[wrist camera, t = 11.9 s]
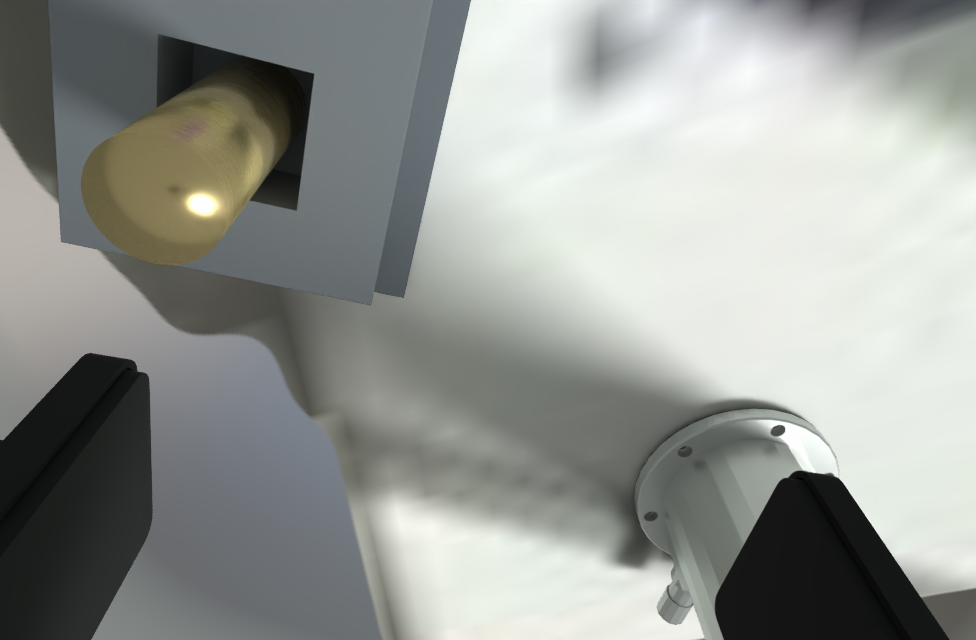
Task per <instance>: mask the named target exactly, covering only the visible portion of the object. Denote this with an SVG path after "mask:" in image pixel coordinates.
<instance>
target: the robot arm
mask: <svg viewBox="0 0 976 640" xmlns="http://www.w3.org/2000/svg"><path fill="white" fill-rule="evenodd" d="M634 500H635V507H636V512H637V515H638V518H639V521H640V524H641V527H642V529H643V531H644V532H645V534H646V535H647V537H648V538H649V539H650V540H651V541H652V542H653V543H654V544H655V545H656V546H657V547H658V548H659V549H661V550H663V551H664V552H666V553H668V554H669V555H671V557H672V560H673V563H674V567H673V569H672V571H671V578H672V580H673V581H672V582H671V584H670V585H668V586H667V588H666V590H665V591H664V593H663V595H662V596H661V598H660V600H659V602H658V604H657V610H658V613H659V615H660V616H661V617H662V618H663V619H664V620H665V621H667V622H668V623H670V624H674V625H677V624H681V623H682V622H683V620H684V619H685V617H686V616H687V614H688V612H689V611H690V609H691V608H692V606H693V605H694V608H695V611H696V614H697V617H698V620H699V622H700V625H701V628H702V631H703V634H704V637H705V640H949V638H948V637H947V635H946V634H945V632H944V631H943V630H942V628H941V627H940V625H939V624H938V622H937V621H936V619H935V618H934V616H933V615H932V613H931V612H930V610H929V609H928V608H927V606H926V605H925V603H924V602H923V600H922V599H921V597H920V596H919V594H918V593H917V591H916V590H915V588H914V587H913V585H912V584H911V582H910V581H909V579H908V578H907V577H906V575H905V574H904V572H903V571H902V569H901V568H900V566H899V565H898V563H897V562H896V560H895V559H894V557H893V556H892V554H891V553H890V551H889V550H888V549H887V547H886V546H885V544H884V543H883V541H882V540H881V538H880V537H879V535H878V534H877V532H876V531H875V529H874V528H873V526H872V525H871V523H870V522H869V521H868V519H867V518H866V516H865V515H864V513H863V512H862V510H861V509H860V507H859V506H858V504H857V503H856V501H855V500H854V498H853V497H852V496H851V494H850V493H849V491H848V490H847V488H846V487H845V485H844V484H843V482H842V481H841V480H840V479H839V467H838V462H837V458H836V456H835V454H834V452H833V450H832V449H831V447H830V445H829V444H828V442H827V441H826V440H825V439H824V437H823V436H822V435H821V433H820V432H819V431H818V430H817V429H816V428H814V427H813V426H812V425H811V424H809V423H808V422H807V421H805V420H803V419H800V418H798V417H796V416H794V415H792V414H788V413H784V412H780V411H776V410H768V409H743V410H733V411H728V412H724V413H720V414H716V415H712V416H710V417H707V418H704V419H702V420H699V421H697V422H694V423H692V424H691V425H689V426H687V427H685V428H683V429H682V430H680V431H678V432H676V433H675V434H674V435H673V436H671V437H670V438H669V439H667V440H666V441H665V442H664V443H662V444H661V445H660V446H659V447H658V448H657V450H656V451H655V452H654V453H653V454H652V455H651V456H650V457H649V459H648V460H647V462H646V464H645V465H644V467H643V468H642V470H641V472H640V475H639V477H638V480H637V483H636V487H635V497H634ZM151 522H152V471H151V430H150V390H149V377H148V375H147V374H146V373H142V372H137V366H136V364H135V362H134V361H132V360H129V359H123V358H117V357H111V356H105V355H98V354H93V353H89V354H85V355H84V356H83V357H81V358H80V359H79V361H78V362H77V363H76V364H75V365H74V366H73V367H72V368H71V369H70V370H69V371H68V372H67V373H66V374H65V375H64V376H63V378H62V379H61V380H60V381H59V382H58V383H57V384H56V385H55V386H54V387H53V388H52V389H51V390H50V391H49V392H48V393H47V394H46V396H45V397H44V398H43V399H42V400H41V401H40V402H39V403H38V404H37V405H36V406H35V407H34V408H33V409H32V410H31V411H30V412H29V414H28V415H27V416H26V417H25V418H24V419H23V420H22V421H21V422H20V423H19V424H18V425H17V426H16V427H15V428H14V430H13V431H12V432H11V433H10V434H9V435H8V436H7V437H6V438H5V439H4V440H0V640H91V639H92V637H93V635H94V633H95V632H96V629H97V628H98V626H99V624H100V622H101V621H102V619H103V617H104V615H105V613H106V611H107V610H108V608H109V606H110V604H111V602H112V601H113V599H114V597H115V595H116V593H117V591H118V589H119V588H120V586H121V584H122V582H123V580H124V579H125V577H126V575H127V573H128V571H129V570H130V568H131V566H132V564H133V562H134V560H135V559H136V557H137V555H138V553H139V551H140V549H141V548H142V546H143V544H144V542H145V540H146V538H147V535H148V533H149V530H150V526H151Z"/></svg>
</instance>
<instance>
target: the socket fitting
mask: <svg viewBox="0 0 976 640" xmlns="http://www.w3.org/2000/svg"><path fill="white" fill-rule="evenodd" d="M470 2H471V0H48V12H49V30H50V49H51V67H52V85H53V103H54V122H55V140H56V158H57V176H58V195H59V213H60V230H61V242H64V243H69V244H74V245H79V246H84V247H88V248H93V249H98V250H103V251H108V252H113V253H118V254H123V255H128V256H131V255H129V254H127V253H125V252H124V251H122V250H120V249H119V248H118V247H116V246H115V245H114V244H112V243H111V242H110V241H109V240H108V239H107V238H106V237H105V236H104V235H103V234H102V233H101V232H100V231H99V230H98V229H97V227H96V226H95V224H94V223H93V221H92V220H91V218H90V216H89V214H88V212H87V210H86V207H85V205H84V202H83V198H82V192H81V176H82V171H83V167H84V165H85V162H86V160H87V158H88V157H89V155H90V154H91V152H92V151H93V150H94V149H95V148H96V147H97V146H98V145H100V144H101V143H102V142H104V141H105V140H107V139H108V138H110V137H111V136H113V135H115V134H116V133H118V132H119V131H121V130H122V129H124V128H126V127H127V126H129V125H130V124H132V123H134V122H135V121H137V120H138V119H140V118H141V117H143V116H145V115H146V114H148V113H149V112H151V111H152V110H154V109H156V108H157V107H159V106H160V105H162V104H164V103H165V102H167V101H168V100H170V99H171V98H173V97H175V96H176V95H178V94H179V93H181V92H182V91H184V90H186V89H187V88H189V87H190V86H192V85H194V84H195V83H197V82H198V81H200V80H201V79H203V78H205V77H206V76H208V75H209V74H211V73H212V72H214V71H216V70H217V69H219V68H220V67H222V66H223V65H225V64H227V63H228V62H230V61H232V60H233V59H235V58H238V57H241V56H247V57H251V58H255V59H259V60H263V61H267V62H270V63H274V64H278V65H282V66H284V67H286V68H287V69H288V70H289V71H290V72H291V73H292V74H293V75H294V76H295V78H296V79H297V80H298V82H299V84H300V85H301V88H302V90H303V92H304V95H305V99H306V107H307V111H306V119H305V122H304V125H303V127H302V129H301V131H300V132H299V134H298V135H297V137H296V138H295V139H294V141H293V142H292V143H291V145H290V146H289V147H288V149H287V150H286V151H285V153H284V154H283V156H282V157H281V158H280V160H279V161H278V162H277V164H276V165H275V166H274V168H273V169H272V170H271V172H270V173H269V174H268V176H267V177H266V179H265V180H264V181H263V183H262V184H261V185H260V187H259V188H258V189H257V191H256V192H255V193H254V195H253V196H252V198H251V199H250V200H249V202H248V203H247V204H246V206H245V207H244V208H243V210H242V211H241V212H240V214H239V215H238V216H237V218H236V219H235V221H234V222H233V223H232V225H231V226H230V227H229V229H228V230H227V231H226V233H225V234H224V235H223V237H222V238H221V240H220V241H219V242H218V244H217V245H216V246H215V247H214V248H213V249H212V250H211V251H210V252H209V253H208V254H206V255H205V256H204V257H202V258H200V259H198V260H196V261H193V262H190V263H186V264H181V265H176V266H181V267H186V268H191V269H196V270H201V271H206V272H211V273H215V274H220V275H225V276H230V277H235V278H240V279H245V280H250V281H255V282H259V283H264V284H269V285H274V286H279V287H284V288H289V289H294V290H298V291H303V292H308V293H313V294H318V295H323V296H328V297H333V298H338V299H342V300H347V301H352V302H357V303H362V304H367V305H371V302H372V297H373V293H374V292H378V293H382V294H387V295H392V296H397V297H402V298H404V294H405V289H406V285H407V280H408V276H409V271H410V267H411V263H412V258H413V254H414V249H415V245H416V241H417V236H418V232H419V227H420V223H421V218H422V214H423V210H424V205H425V201H426V196H427V192H428V187H429V183H430V179H431V174H432V170H433V165H434V161H435V156H436V152H437V148H438V143H439V139H440V134H441V130H442V126H443V121H444V117H445V112H446V108H447V103H448V99H449V95H450V90H451V86H452V81H453V77H454V72H455V68H456V64H457V59H458V55H459V50H460V46H461V42H462V37H463V33H464V28H465V24H466V19H467V15H468V11H469V6H470ZM132 257H133V256H132Z"/></svg>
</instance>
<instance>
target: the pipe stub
mask: <svg viewBox="0 0 976 640" xmlns="http://www.w3.org/2000/svg"><path fill="white" fill-rule="evenodd" d="M306 111H307V107H306V99H305V95H304V92H303V90H302V88H301V85H300V84H299V82H298V80H297V79H296V78H295V76H294V75H293V74H292V73H291V72H290V71H289V70H288V69H287V68H286V67H284V66H282V65H278V64H274V63H270V62H267V61H263V60H259V59H255V58H251V57H247V56H241V57H238V58H235V59H233V60H232V61H230V62H228V63H227V64H225V65H223V66H222V67H220V68H219V69H217V70H216V71H214V72H212V73H211V74H209V75H208V76H206V77H205V78H203V79H201V80H200V81H198V82H197V83H195V84H194V85H192V86H190V87H189V88H187V89H186V90H184V91H182V92H181V93H179V94H178V95H176V96H175V97H173V98H171V99H170V100H168V101H167V102H165V103H164V104H162V105H160V106H159V107H157V108H156V109H154V110H152V111H151V112H149V113H148V114H146V115H145V116H143V117H141V118H140V119H138V120H137V121H135V122H134V123H132V124H130V125H129V126H127V127H126V128H124V129H122V130H121V131H119V132H118V133H116V134H115V135H113V136H111V137H110V138H108V139H107V140H105V141H104V142H102V143H101V144H100V145H98V146H97V147H96V148H95V149H94V150H93V151H92V152H91V154H90V155H89V157H88V158H87V160H86V162H85V165H84V167H83V171H82V176H81V192H82V198H83V202H84V205H85V207H86V210H87V212H88V214H89V216H90V218H91V220H92V221H93V223H94V224H95V226H96V227H97V229H98V230H99V231H100V232H101V233H102V234H103V235H104V236H105V237H106V238H107V239H108V240H109V241H110V242H111V243H112V244H114V245H115V246H116V247H118V248H119V249H120V250H122V251H124V252H125V253H127V254H129V255H131V256H133V257H135V258H137V259H140V260H143V261H146V262H150V263H154V264H160V265H181V264H186V263H190V262H193V261H196V260H198V259H200V258H202V257H204V256H205V255H206V254H208V253H209V252H210V251H211V250H212V249H213V248H214V247H215V246H216V245H217V244H218V242H219V241H220V240H221V238H222V237H223V235H224V234H225V233H226V231H227V230H228V229H229V227H230V226H231V225H232V223H233V222H234V221H235V219H236V218H237V216H238V215H239V214H240V212H241V211H242V210H243V208H244V207H245V206H246V204H247V203H248V202H249V200H250V199H251V198H252V196H253V195H254V193H255V192H256V191H257V189H258V188H259V187H260V185H261V184H262V183H263V181H264V180H265V179H266V177H267V176H268V174H269V173H270V172H271V170H272V169H273V168H274V166H275V165H276V164H277V162H278V161H279V160H280V158H281V157H282V156H283V154H284V153H285V151H286V150H287V149H288V147H289V146H290V145H291V143H292V142H293V141H294V139H295V138H296V137H297V135H298V134H299V132H300V131H301V129H302V127H303V125H304V122H305V119H306Z"/></svg>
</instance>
